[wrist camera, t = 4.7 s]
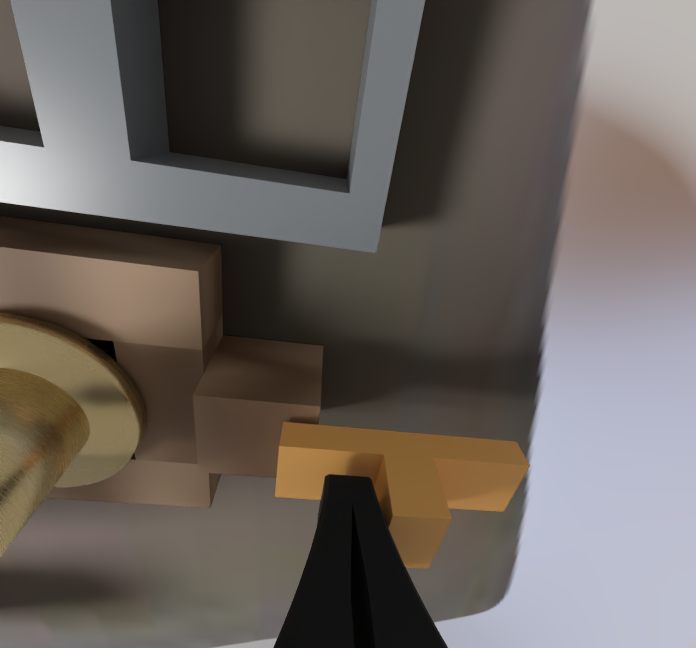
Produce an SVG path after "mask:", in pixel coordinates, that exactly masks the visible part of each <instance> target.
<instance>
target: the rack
mask: <svg viewBox="0 0 696 648" xmlns="http://www.w3.org/2000/svg"><path fill="white" fill-rule="evenodd" d="M424 4H425V0H372V1H371V8H370V15H369V22H368V29H367V36H366V44H365V51H364V58H363V65H362V72H361V79H360V87H359V94H358V101H357V108H356V115H355V122H354V130H353V137H352V144H351V151H350V158H349V165H348V173H347V179H342V178H336V177H329V176H323V175H316V174H310V173H304V172H297V171H291V170H284V169H278V168H271V167H265V166H258V165H252V164H245V163H239V162H233V161H226V160H220V159H213V158H207V157H200V156H194V155H187V154H181V153H174V152H170V150H169V138H168V125H167V112H166V99H165V87H164V74H163V61H162V49H161V36H160V23H159V11H158V0H11V5H12V9H13V13H14V18H15V22H16V26H17V31H18V35H19V40H20V44H21V48H22V53H23V57H24V61H25V66H26V70H27V74H28V79H29V83H30V88H31V92H32V96H33V101H34V105H35V109H36V114H37V118H38V122H39V127H40V131H41V132H39V131H32V130H26V129H19V128H13V127H7V126H0V202H3V203H10V204H17V205H25V206H32V207H40V208H47V209H54V210H62V211H69V212H77V213H84V214H91V215H99V216H106V217H114V218H121V219H128V220H136V221H143V222H151V223H158V224H165V225H173V226H180V227H188V228H195V229H202V230H210V231H217V232H225V233H232V234H239V235H247V236H254V237H262V238H269V239H276V240H284V241H291V242H299V243H306V244H313V245H321V246H328V247H336V248H343V249H350V250H358V251H365V252H373V253H376V251H377V246H378V241H379V236H380V231H381V225H382V220H383V215H384V210H385V205H386V200H387V195H388V189H389V184H390V179H391V174H392V169H393V164H394V158H395V153H396V148H397V143H398V138H399V133H400V128H401V122H402V117H403V112H404V107H405V102H406V97H407V92H408V86H409V81H410V76H411V71H412V66H413V61H414V56H415V50H416V45H417V40H418V35H419V30H420V25H421V20H422V14H423V9H424Z"/></svg>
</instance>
